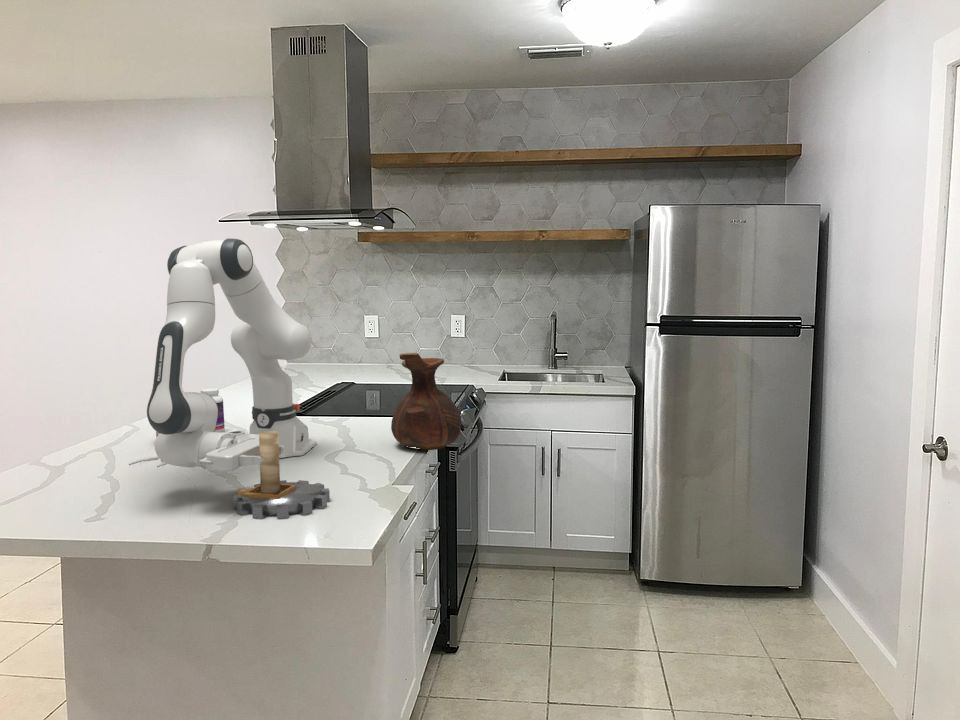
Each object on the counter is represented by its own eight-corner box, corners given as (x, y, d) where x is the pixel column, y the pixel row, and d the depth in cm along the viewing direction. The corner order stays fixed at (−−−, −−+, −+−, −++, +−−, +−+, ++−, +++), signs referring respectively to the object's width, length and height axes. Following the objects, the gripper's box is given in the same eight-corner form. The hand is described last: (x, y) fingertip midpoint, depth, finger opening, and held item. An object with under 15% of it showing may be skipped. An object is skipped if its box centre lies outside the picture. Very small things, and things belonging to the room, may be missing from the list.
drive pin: (267, 488, 184) (265, 430, 182) (283, 490, 183) (282, 431, 181) (257, 493, 180) (255, 434, 178) (274, 495, 179) (272, 435, 177)
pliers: (127, 460, 215) (161, 447, 229) (128, 466, 215) (162, 453, 229) (159, 462, 213) (191, 449, 227) (159, 468, 213) (191, 455, 227)
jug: (379, 443, 241) (377, 347, 237) (441, 435, 251) (441, 343, 247) (408, 458, 222) (406, 354, 218) (474, 449, 232) (474, 350, 229)
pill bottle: (224, 429, 260) (223, 387, 258) (224, 434, 252) (222, 390, 250) (199, 431, 257) (197, 388, 255) (198, 436, 250) (196, 392, 248)
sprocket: (265, 487, 194) (264, 474, 194) (344, 493, 188) (344, 480, 188) (214, 514, 173) (213, 499, 173) (302, 522, 168) (301, 507, 167)
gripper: (192, 448, 173) (247, 452, 170) (243, 429, 193) (293, 432, 189) (193, 475, 174) (248, 480, 170) (244, 453, 193) (294, 457, 190)
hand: (272, 455), depth 180 cm, fingers open, 8 cm apart
